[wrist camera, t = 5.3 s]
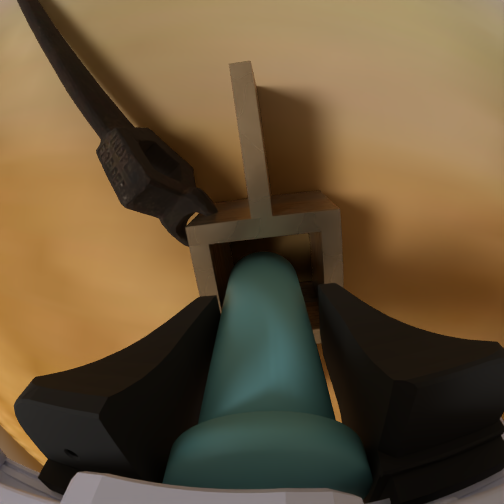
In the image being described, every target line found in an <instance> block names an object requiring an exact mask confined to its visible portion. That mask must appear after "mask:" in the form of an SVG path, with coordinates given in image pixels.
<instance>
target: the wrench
mask: <svg viewBox="0 0 504 504" xmlns="http://www.w3.org/2000/svg"><path fill="white" fill-rule="evenodd" d="M17 1H18V3H19V6H20V7H21V10H22V12H23V14H24V16H25V18H26V20H27V22H28V24H29V26H30V28H31V30H32V31H33V33H34V35H35V37H36V39H37V41H38V42H39V44H40V46H41V48H42V50H43V51H44V53H45V55H46V56H47V58H48V60H49V62H50V63H51V65H52V67H53V68H54V70H55V72H56V74H57V75H58V77H59V79H60V81H61V82H62V84H63V85H64V87H65V88H66V91H67V92H68V94H69V95H70V97H71V98H72V100H73V101H74V103H75V104H76V106H77V107H78V108H79V110H80V111H81V113H82V114H83V116H84V117H85V118H86V120H87V121H88V122H89V124H90V125H91V126H92V128H93V129H94V130H95V132H96V133H97V135H98V136H99V137H100V139H101V142H100V145H99V147H98V148H97V150H96V153H97V156H98V158H99V160H100V162H101V164H102V167H103V169H104V171H105V173H106V175H107V177H108V179H109V181H110V183H111V185H112V187H113V189H114V191H115V193H116V195H117V197H118V199H119V201H120V203H121V204H122V205H123V206H124V207H125V208H128V209H130V210H134V211H137V212H140V213H143V214H147V215H151V216H154V217H156V218H159V219H160V221H161V223H162V225H163V226H164V227H165V228H166V229H167V231H168V232H169V233H170V234H171V235H172V236H173V237H175V238H176V239H177V240H178V241H179V242H181V243H182V244H184V245H185V246H188V247H189V243H188V239H187V233H186V228H185V227H186V226H187V221H188V219H189V218H190V217H191V216H192V215H193V214H194V213H195V212H197V213H201V214H203V215H205V216H209V215H212V214H215V213H217V212H218V210H217V208H216V207H215V205H214V204H213V202H212V201H211V199H210V198H209V197H208V196H207V194H206V193H205V192H204V191H203V190H201V189H199V188H196V185H195V180H194V175H193V168H192V167H191V166H190V165H189V164H188V163H187V162H186V161H185V160H183V159H182V158H181V157H180V156H179V155H178V154H177V153H176V152H174V151H173V150H172V149H171V148H170V147H169V146H168V145H167V144H166V143H164V142H163V141H162V140H161V139H160V138H159V137H158V136H157V135H156V134H155V133H154V132H153V131H152V130H150V129H149V128H137V127H134V126H133V125H132V124H131V123H130V121H129V120H128V119H127V118H126V117H125V116H124V114H123V113H122V112H121V111H120V110H119V108H118V107H117V106H116V105H115V104H114V102H113V101H112V100H111V99H110V98H109V96H108V95H107V94H106V93H105V92H104V90H103V89H102V88H101V87H100V85H99V84H98V83H97V82H96V80H95V79H94V78H93V76H92V75H91V74H90V73H89V71H88V70H87V69H86V67H85V66H84V65H83V63H82V62H81V61H80V59H79V58H78V57H77V55H76V54H75V53H74V51H73V50H72V49H71V47H70V46H69V45H68V43H67V42H66V41H65V39H64V38H63V37H62V35H61V34H60V32H59V31H58V29H57V28H56V27H55V25H54V24H53V22H52V21H51V19H50V18H49V16H48V15H47V13H46V12H45V10H44V9H43V7H42V6H41V4H40V3H39V1H38V0H17Z"/></svg>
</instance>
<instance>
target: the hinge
mask: <svg viewBox="0 0 504 504" xmlns="http://www.w3.org/2000/svg"><path fill="white" fill-rule="evenodd" d="M229 68H230V75H231V82H232V89H233V96H234V102H235V109H236V116H237V123H238V130H239V137H240V144H241V151H242V158H243V165H244V172H245V179H246V186H247V193H248V199H240V200H233V201H225V202H218V203H213V204H214V205H215V207H216V208H217V210H218V212H217V213H215V214H212V215H209V216H205V215H203V214H201V213H199V214H198V215H197V216H196V217H195V218H194V219H193V220H192V221H191V222H190V223H189V224H188V225H187V226H186V227H185V228H186V233H187V239H188V243H189V248H190V253H191V258H192V263H193V267H194V272H195V277H196V281H197V286H198V290H199V295H200V296H212V295H217V299H218V304H219V308H220V313H221V312H222V308H223V303H224V299H225V294H226V290H227V285H228V281H229V277H230V273H231V271H232V269H233V267H234V264H233V258H232V252H231V246H230V242H232V241H241V240H250V239H258V238H267V237H276V236H285V235H294V234H303V233H309V238H310V251H311V264H312V278H313V281H310V282H301V283H299V284H300V287H301V291H302V294H303V298H304V302H305V305H306V309H307V312H308V316H309V319H310V323H311V327H312V330H313V334H314V338H315V341H316V344H318V343H321V338H320V323H319V299H318V285H319V284H328V283H337V284H338V285H340V286H341V287H343V253H342V232H341V215H340V209H339V208H338V207H337V206H336V205H335V204H334V203H333V202H332V201H331V200H330V199H329V198H328V197H326V196H325V195H324V194H323V193H322V192H321V191H309V192H300V193H290V194H282V195H273V196H272V195H271V188H270V180H269V172H268V165H267V157H266V150H265V142H264V135H263V128H262V121H261V114H260V107H259V101H258V94H257V87H256V82H255V78H254V73H253V69H252V65H251V61H245V62H238V63H232V64H229Z"/></svg>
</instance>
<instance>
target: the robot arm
mask: <svg viewBox="0 0 504 504" xmlns="http://www.w3.org/2000/svg"><path fill="white" fill-rule="evenodd" d="M318 299H319V323H320V338H321V343H322V349H323V355H324V359H325V362H326V366H327V369H328V372H329V375H330V379H331V382H332V385H333V388H334V392H335V395H336V398H337V402H338V405H339V409H340V413H341V419H342V423H343V424H344V425H346V426H348V427H350V428H351V429H352V430H353V431H354V432H356V433H357V434H358V436H359V437H360V438H361V440H362V443H363V445H364V449H365V452H366V456H367V459H368V463H369V466H370V470H371V473H372V477H373V483H372V485H371V488H370V491H369V494H368V495H367V496H366V497H365V498H364V499H363V500H362V498H361V497H358V496H356V495H354V494H350V493H345V492H341V491H337V490H333V489H329V488H278V489H213V488H198V487H186V486H177V485H169V484H162V482H163V478H164V474H165V470H166V466H167V463H168V459H169V455H170V451H171V448H172V445H173V444H174V442H175V441H176V439H177V438H178V437H179V436H180V435H181V434H182V433H184V432H185V431H187V430H188V429H190V428H191V427H193V426H195V425H198V420H199V415H200V410H201V405H202V401H203V396H204V391H205V386H206V382H207V377H208V372H209V368H210V363H211V358H212V354H213V349H214V344H215V340H216V335H217V331H218V326H219V321H220V317H221V313H220V308H219V304H218V299H217V295H212V296H200V297H198V298H197V299H195V300H194V301H193V302H191V303H190V304H189V305H187V306H186V307H185V308H184V309H182V310H181V311H180V312H179V313H177V314H176V315H175V316H173V317H172V318H171V319H170V320H168V321H167V322H166V323H164V324H163V325H161V326H160V327H159V328H157V329H156V330H154V331H153V332H151V333H150V334H149V335H147V336H146V337H144V338H142V339H141V340H139V341H137V342H136V343H134V344H132V345H130V346H128V347H127V348H125V349H123V350H121V351H118V352H116V353H114V354H112V355H109V356H107V357H105V358H103V359H100V360H98V361H95V362H92V363H90V364H87V365H84V366H81V367H77V368H74V369H71V370H67V371H63V372H58V373H53V374H49V375H44V376H38V377H35V378H34V379H33V380H32V381H31V383H30V384H29V385H28V386H27V387H26V389H25V390H24V391H23V392H22V394H21V395H20V396H19V397H18V399H17V400H16V402H15V404H14V410H15V415H16V417H17V419H18V422H19V423H20V425H21V426H22V428H23V429H24V431H25V432H26V433H27V435H28V436H29V437H30V438H31V440H32V441H33V442H34V443H35V445H36V446H37V447H38V448H39V449H40V451H41V452H42V453H43V454H44V455H45V456H46V457H47V459H48V460H47V462H46V463H45V465H44V467H43V469H42V470H41V473H39V472H37V471H34V470H32V469H30V468H28V467H26V466H24V465H21V464H19V463H17V462H15V461H13V460H11V459H9V458H7V457H6V455H5V454H4V453H3V451H2V450H1V449H0V504H504V421H503V419H502V417H501V416H502V414H503V412H504V348H503V347H502V346H501V345H500V344H499V343H498V342H492V341H479V340H467V339H461V338H455V337H449V336H444V335H440V334H436V333H432V332H429V331H425V330H422V329H419V328H416V327H413V326H410V325H407V324H405V323H403V322H400V321H398V320H396V319H393V318H391V317H389V316H387V315H385V314H383V313H382V312H380V311H378V310H376V309H374V308H373V307H371V306H369V305H368V304H366V303H364V302H363V301H361V300H360V299H358V298H357V297H355V296H354V295H352V294H351V293H350V292H348V291H347V290H345V289H344V288H343V287H341V286H340V285H338V284H337V283H328V284H319V285H318Z"/></svg>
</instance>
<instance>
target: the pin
mask: <svg viewBox="0 0 504 504" xmlns="http://www.w3.org/2000/svg"><path fill="white" fill-rule="evenodd" d="M372 483H373V477H372V473H371V470H370V466H369V463H368V459H367V456H366V452H365V449H364V445H363V443H362V440H361V438H360V437H359V436H358V434H357V433H356V432H354V431H353V430H352V429H351V428H350V427H348V426H346V425H344V424H343V423H340V422H338V421H336V420H335V415H334V411H333V407H332V403H331V399H330V395H329V391H328V387H327V383H326V379H325V376H324V372H323V368H322V364H321V360H320V356H319V353H318V349H317V345H316V341H315V338H314V334H313V330H312V327H311V323H310V319H309V316H308V312H307V309H306V305H305V302H304V298H303V294H302V291H301V287H300V284H299V281H298V277H297V274H296V271H295V269H294V267H293V266H292V264H291V263H290V262H289V261H288V260H287V259H285V258H284V257H282V256H280V255H278V254H276V253H272V252H265V251H263V252H255V253H251V254H249V255H247V256H245V257H243V258H242V259H241V260H239V261H238V262H237V263H236V264H235V266H234V267H233V269H232V271H231V273H230V277H229V281H228V285H227V290H226V294H225V299H224V303H223V308H222V312H221V317H220V321H219V326H218V331H217V335H216V340H215V344H214V349H213V354H212V358H211V363H210V368H209V372H208V377H207V382H206V386H205V391H204V396H203V401H202V405H201V410H200V415H199V420H198V425H195V426H193V427H191V428H190V429H188V430H187V431H185V432H184V433H182V434H181V435H180V436H179V437H178V438H177V439H176V441H175V442H174V444H173V445H172V448H171V451H170V455H169V459H168V463H167V466H166V470H165V474H164V478H163V482H162V484H169V485H177V486H186V487H198V488H213V489H278V488H329V489H333V490H337V491H341V492H345V493H350V494H354V495H356V496H358V497H361V498H362V500H363V499H364V498H365V497H366V496H367V495H368V494H369V491H370V488H371V485H372Z"/></svg>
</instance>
